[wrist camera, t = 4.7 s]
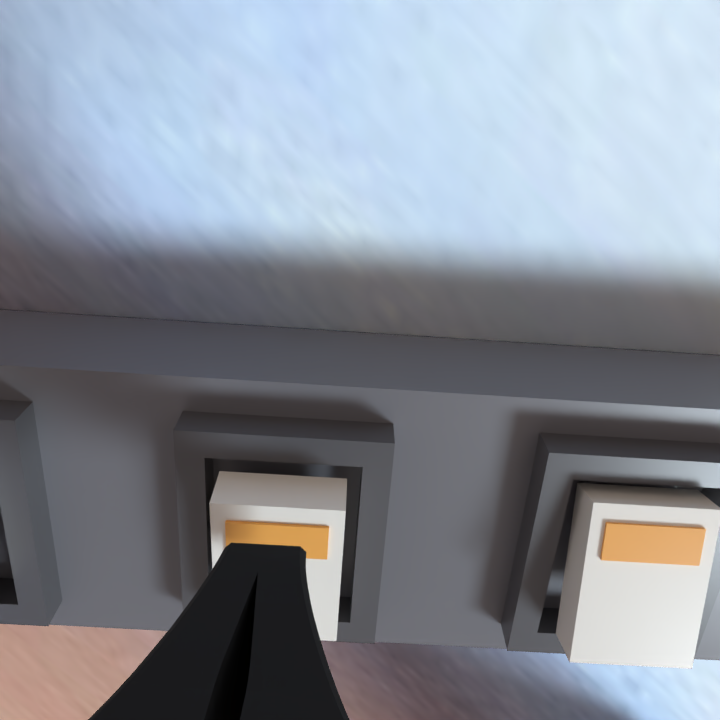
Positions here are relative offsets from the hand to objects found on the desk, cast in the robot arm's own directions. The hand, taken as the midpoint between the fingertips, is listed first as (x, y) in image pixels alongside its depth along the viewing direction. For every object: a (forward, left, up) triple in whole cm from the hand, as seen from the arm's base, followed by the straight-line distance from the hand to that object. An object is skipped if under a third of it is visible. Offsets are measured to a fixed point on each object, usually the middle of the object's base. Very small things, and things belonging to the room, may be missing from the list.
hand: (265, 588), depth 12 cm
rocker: (+8, -1, -2) cm, 8 cm away
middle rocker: (0, -1, -2) cm, 2 cm away
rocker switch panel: (+3, -1, -6) cm, 7 cm away
